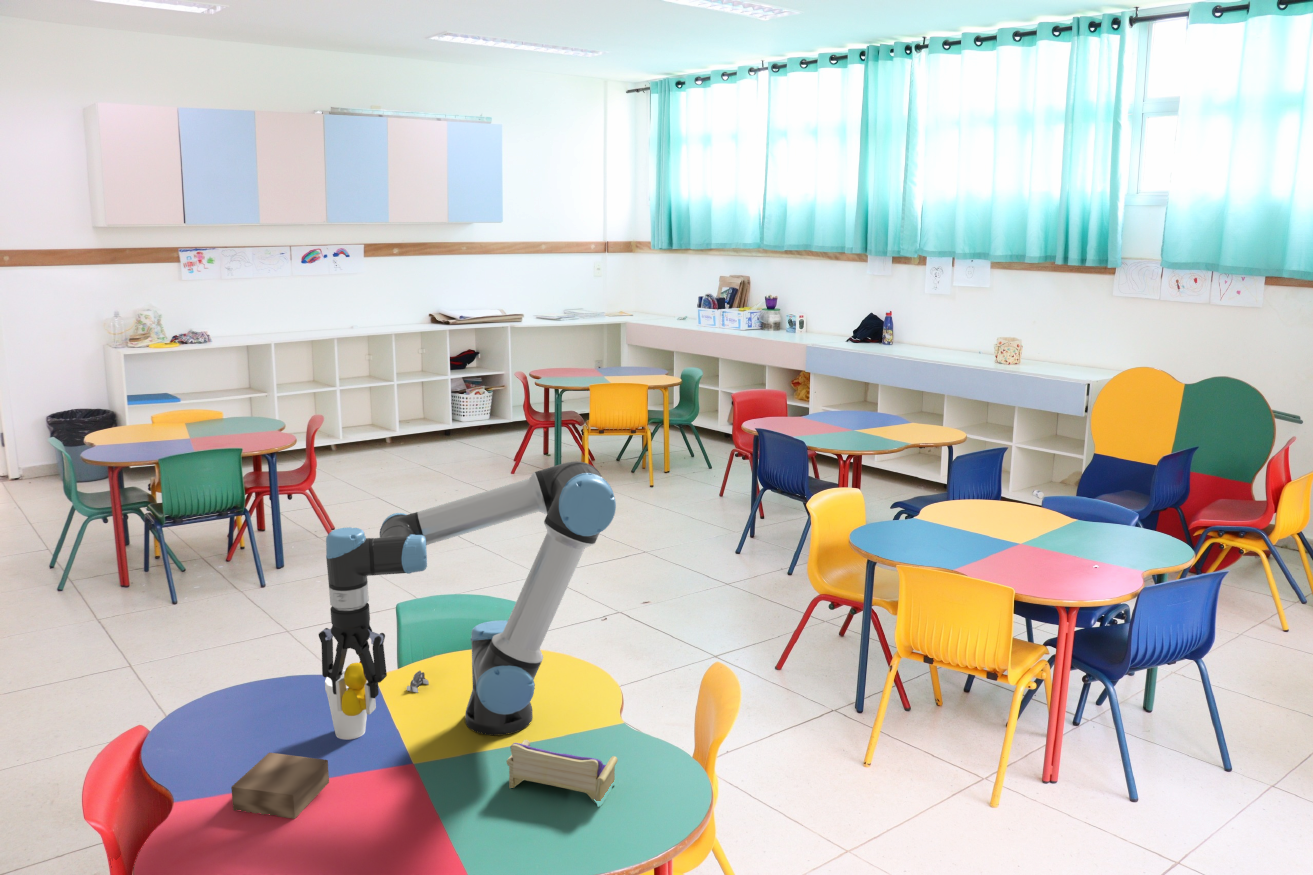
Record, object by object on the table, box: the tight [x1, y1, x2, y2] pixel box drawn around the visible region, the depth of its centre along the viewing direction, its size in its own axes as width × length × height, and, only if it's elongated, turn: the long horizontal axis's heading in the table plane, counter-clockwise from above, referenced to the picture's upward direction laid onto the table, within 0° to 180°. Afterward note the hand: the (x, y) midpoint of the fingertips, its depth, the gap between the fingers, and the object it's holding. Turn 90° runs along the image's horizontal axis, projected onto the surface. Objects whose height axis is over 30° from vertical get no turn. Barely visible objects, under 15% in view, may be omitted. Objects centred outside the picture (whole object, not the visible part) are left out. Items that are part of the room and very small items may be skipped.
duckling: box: [342, 660, 367, 716], centre depth 210 cm, size 11×5×10 cm, turn 179°
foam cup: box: [324, 669, 368, 741], centre depth 225 cm, size 10×9×13 cm
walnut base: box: [231, 752, 330, 820], centre depth 202 cm, size 13×13×5 cm
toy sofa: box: [506, 739, 619, 801], centre depth 206 cm, size 21×9×10 cm, turn 72°
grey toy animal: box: [406, 670, 430, 693], centre depth 252 cm, size 15×7×4 cm, turn 160°
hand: (356, 709), depth 211 cm, fingers closed on duckling, 6 cm apart
